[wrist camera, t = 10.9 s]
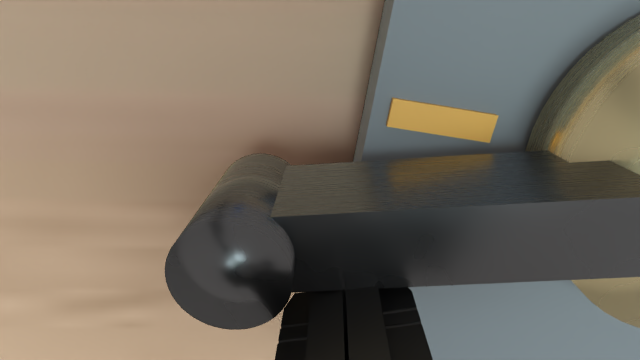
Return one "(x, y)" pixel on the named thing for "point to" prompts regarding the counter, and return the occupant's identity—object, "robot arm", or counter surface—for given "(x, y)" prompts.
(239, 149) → the counter surface
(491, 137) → the instrument base
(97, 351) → the counter surface
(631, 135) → the tan disc with handle
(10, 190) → the counter surface
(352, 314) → the robot arm
